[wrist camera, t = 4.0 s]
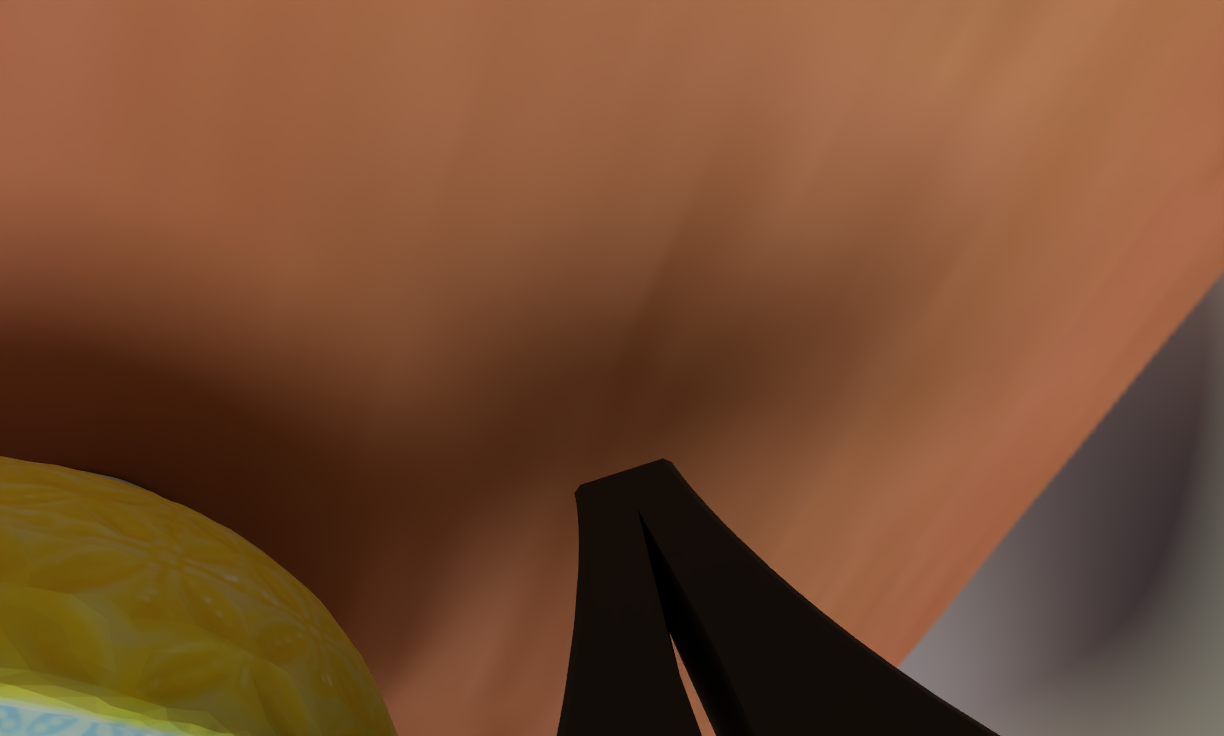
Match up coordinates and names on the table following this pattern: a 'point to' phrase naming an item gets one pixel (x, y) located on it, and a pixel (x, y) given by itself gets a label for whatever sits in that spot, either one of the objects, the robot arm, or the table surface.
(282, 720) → the bowl
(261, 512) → the table surface
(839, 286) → the table surface
